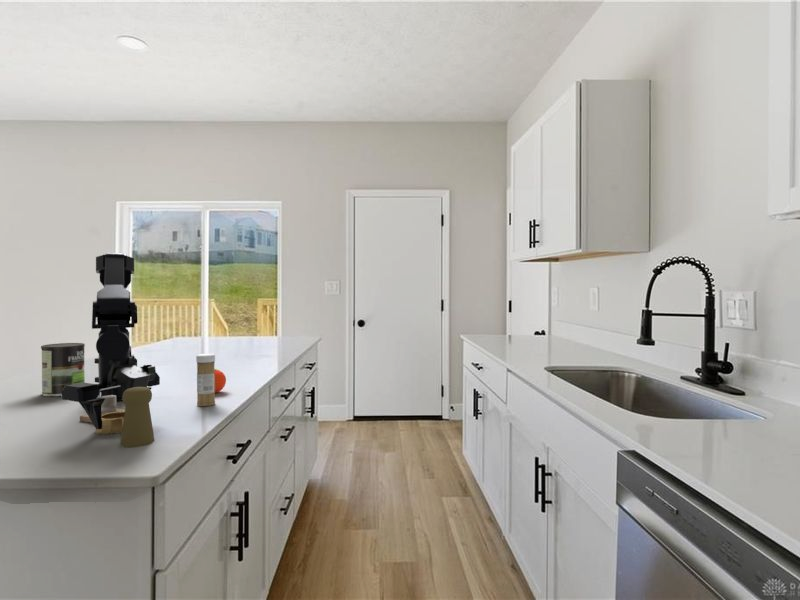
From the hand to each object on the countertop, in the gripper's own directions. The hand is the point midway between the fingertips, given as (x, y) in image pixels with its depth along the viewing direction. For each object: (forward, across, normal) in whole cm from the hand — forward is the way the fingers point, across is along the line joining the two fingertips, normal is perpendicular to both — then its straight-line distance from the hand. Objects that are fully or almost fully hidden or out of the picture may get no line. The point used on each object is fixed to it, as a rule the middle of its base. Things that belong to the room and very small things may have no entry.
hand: (114, 424), depth 101 cm
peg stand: (+1, +5, +9) cm, 10 cm away
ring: (+1, 0, 0) cm, 1 cm away
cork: (+1, -4, -12) cm, 13 cm away
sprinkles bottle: (+1, +24, -2) cm, 24 cm away
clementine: (+1, +36, +7) cm, 37 cm away
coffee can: (+1, +18, +46) cm, 49 cm away
